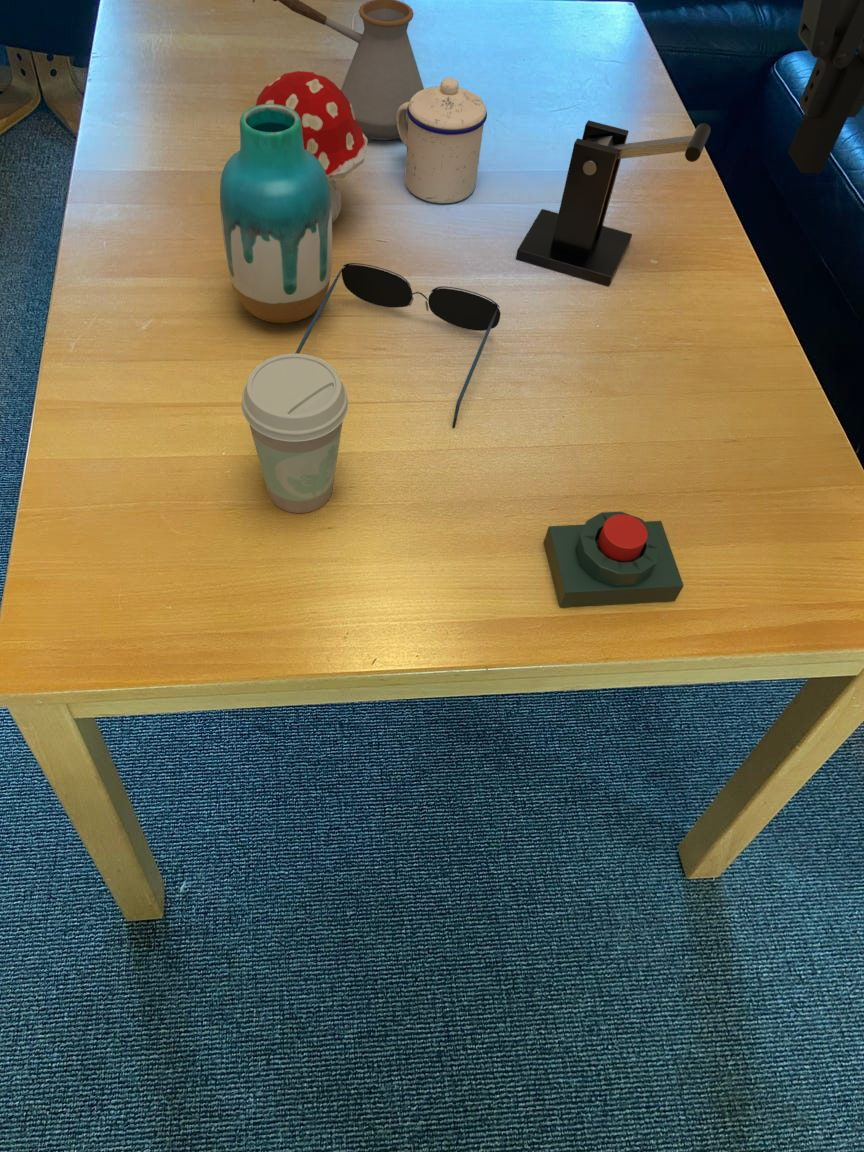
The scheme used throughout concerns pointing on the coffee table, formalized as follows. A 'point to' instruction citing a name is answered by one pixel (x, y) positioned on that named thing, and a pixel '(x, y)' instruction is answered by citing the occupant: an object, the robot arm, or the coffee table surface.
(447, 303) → the sunglasses
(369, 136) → the coffee pot
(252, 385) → the coffee cup
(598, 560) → the button housing
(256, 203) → the vase
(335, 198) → the decorative mushroom
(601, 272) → the black lever stand
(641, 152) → the lever
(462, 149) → the teacup with lid
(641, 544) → the button
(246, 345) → the coffee table surface
